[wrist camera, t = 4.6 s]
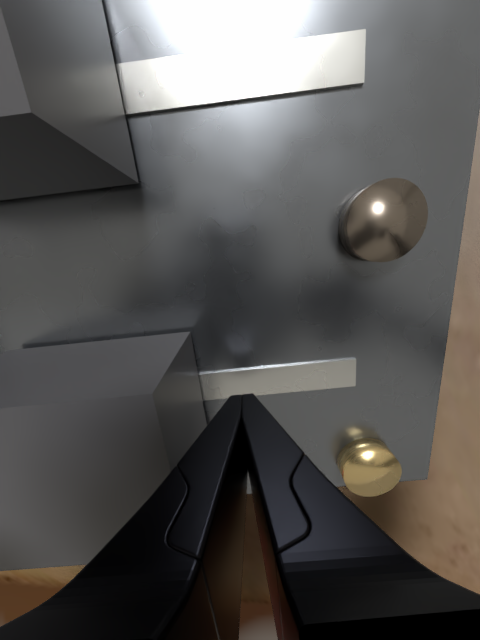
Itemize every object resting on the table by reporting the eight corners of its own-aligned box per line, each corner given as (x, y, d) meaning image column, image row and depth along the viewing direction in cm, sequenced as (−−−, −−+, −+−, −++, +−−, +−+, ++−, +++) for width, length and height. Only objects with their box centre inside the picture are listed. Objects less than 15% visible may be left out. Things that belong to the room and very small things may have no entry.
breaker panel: (448, -68, 8) (616, -323, 4) (399, 445, 13) (454, 513, 10) (-150, 23, 8) (-423, -136, 5) (45, 476, 14) (-18, 549, 10)
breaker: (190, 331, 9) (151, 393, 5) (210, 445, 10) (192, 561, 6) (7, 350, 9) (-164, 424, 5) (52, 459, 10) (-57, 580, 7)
